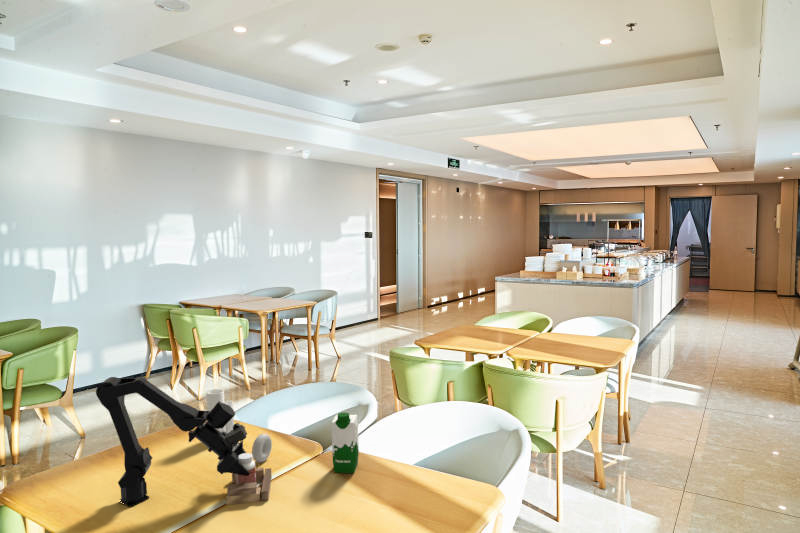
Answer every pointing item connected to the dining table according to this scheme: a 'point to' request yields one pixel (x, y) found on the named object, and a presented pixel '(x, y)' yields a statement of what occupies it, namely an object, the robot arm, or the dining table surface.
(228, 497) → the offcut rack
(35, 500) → the dining table surface
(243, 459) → the pill bottle
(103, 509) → the dining table surface
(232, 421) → the vase
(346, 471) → the milk carton
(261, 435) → the grey rounded piece
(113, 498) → the dining table surface
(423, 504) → the dining table surface
